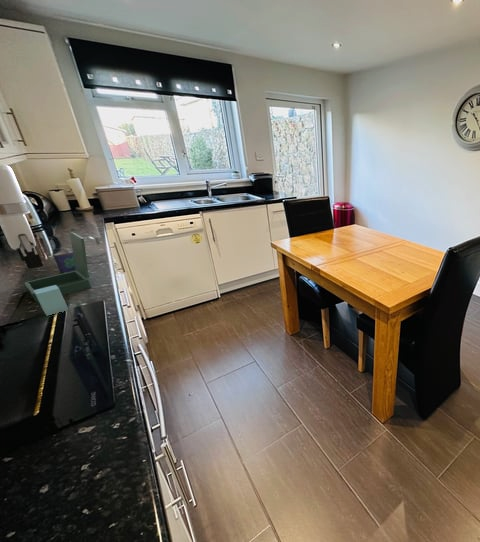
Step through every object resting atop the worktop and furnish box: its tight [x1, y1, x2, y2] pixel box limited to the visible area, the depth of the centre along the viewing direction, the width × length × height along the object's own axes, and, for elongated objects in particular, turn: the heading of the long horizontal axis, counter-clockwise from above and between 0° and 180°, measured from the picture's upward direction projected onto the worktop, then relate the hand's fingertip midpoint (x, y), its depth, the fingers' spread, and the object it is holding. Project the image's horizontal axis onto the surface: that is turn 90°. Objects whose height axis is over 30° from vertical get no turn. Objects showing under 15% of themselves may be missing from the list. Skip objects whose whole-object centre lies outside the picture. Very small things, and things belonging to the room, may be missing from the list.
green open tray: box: [23, 270, 92, 304], centre depth 107 cm, size 15×15×4 cm
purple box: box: [53, 247, 89, 274], centre depth 123 cm, size 9×3×11 cm, turn 148°
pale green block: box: [33, 285, 70, 317], centre depth 93 cm, size 5×4×8 cm
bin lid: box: [69, 231, 97, 280], centre depth 112 cm, size 16×15×5 cm
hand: (32, 263), depth 88 cm, fingers open, 9 cm apart
